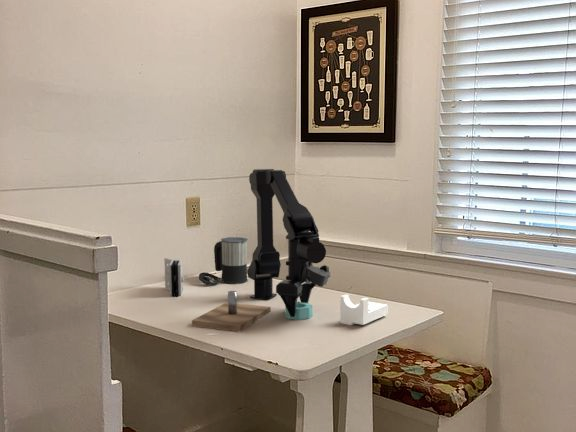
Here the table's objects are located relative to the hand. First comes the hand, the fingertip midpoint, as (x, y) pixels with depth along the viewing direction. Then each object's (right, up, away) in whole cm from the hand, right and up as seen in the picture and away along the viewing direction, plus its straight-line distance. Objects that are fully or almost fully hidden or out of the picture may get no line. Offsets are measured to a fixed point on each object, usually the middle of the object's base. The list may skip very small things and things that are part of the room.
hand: (298, 312), depth 181 cm
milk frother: (-25, +4, +42) cm, 49 cm away
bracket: (+18, -2, -3) cm, 18 cm away
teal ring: (0, -1, 0) cm, 1 cm away
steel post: (-18, -1, -2) cm, 18 cm away
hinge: (-40, +2, +29) cm, 49 cm away
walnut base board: (-18, -1, -2) cm, 18 cm away
